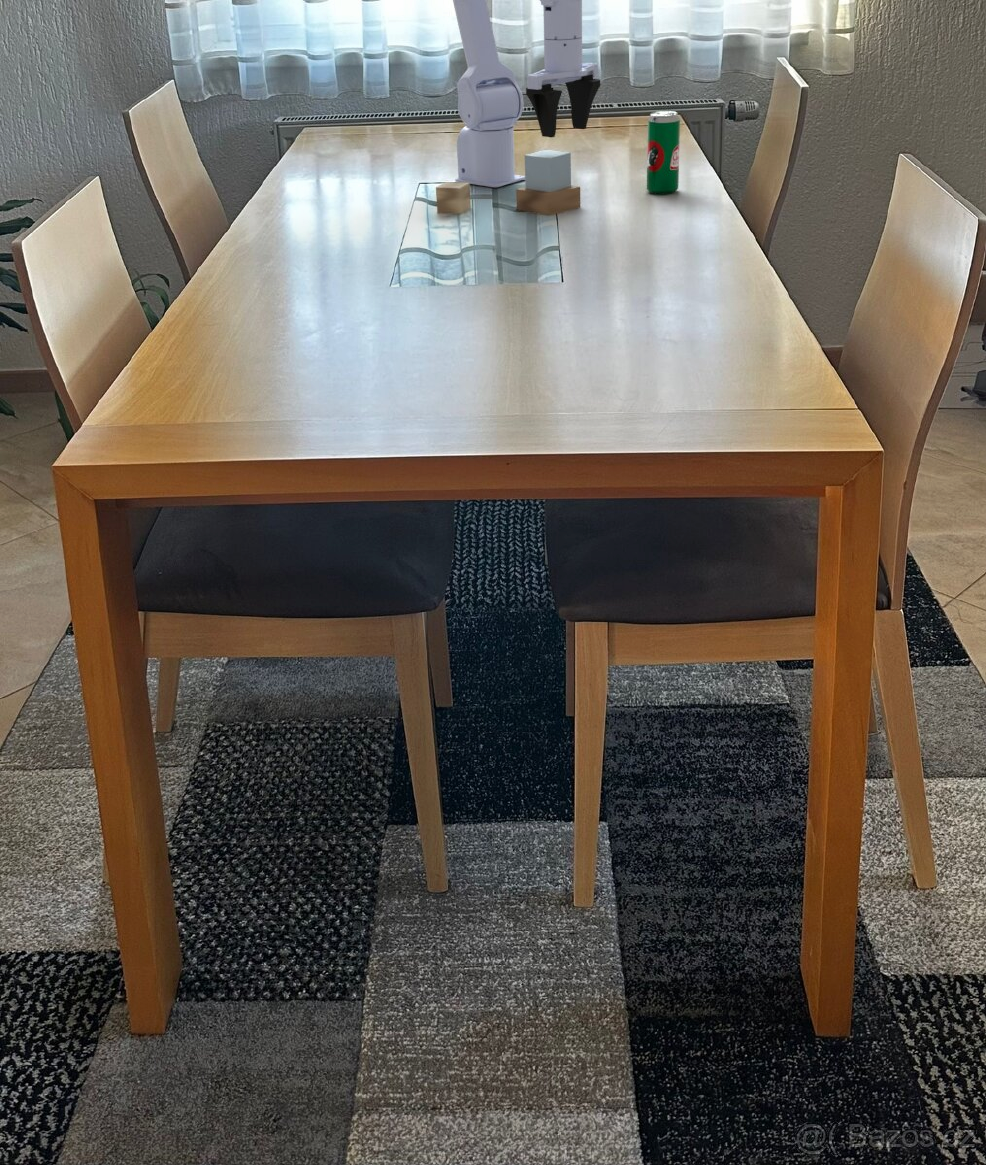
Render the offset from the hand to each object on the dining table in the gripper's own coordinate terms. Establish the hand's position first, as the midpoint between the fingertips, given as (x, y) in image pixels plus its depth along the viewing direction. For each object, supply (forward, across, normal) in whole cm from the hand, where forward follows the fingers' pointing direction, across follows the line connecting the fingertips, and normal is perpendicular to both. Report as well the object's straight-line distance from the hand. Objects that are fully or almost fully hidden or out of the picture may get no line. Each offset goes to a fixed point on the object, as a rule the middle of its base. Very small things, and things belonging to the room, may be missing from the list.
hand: (564, 132), depth 199 cm
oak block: (+10, -14, +11) cm, 21 cm away
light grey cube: (+7, -5, -1) cm, 9 cm away
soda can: (+10, +13, -10) cm, 19 cm away
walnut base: (+11, -5, -1) cm, 12 cm away
